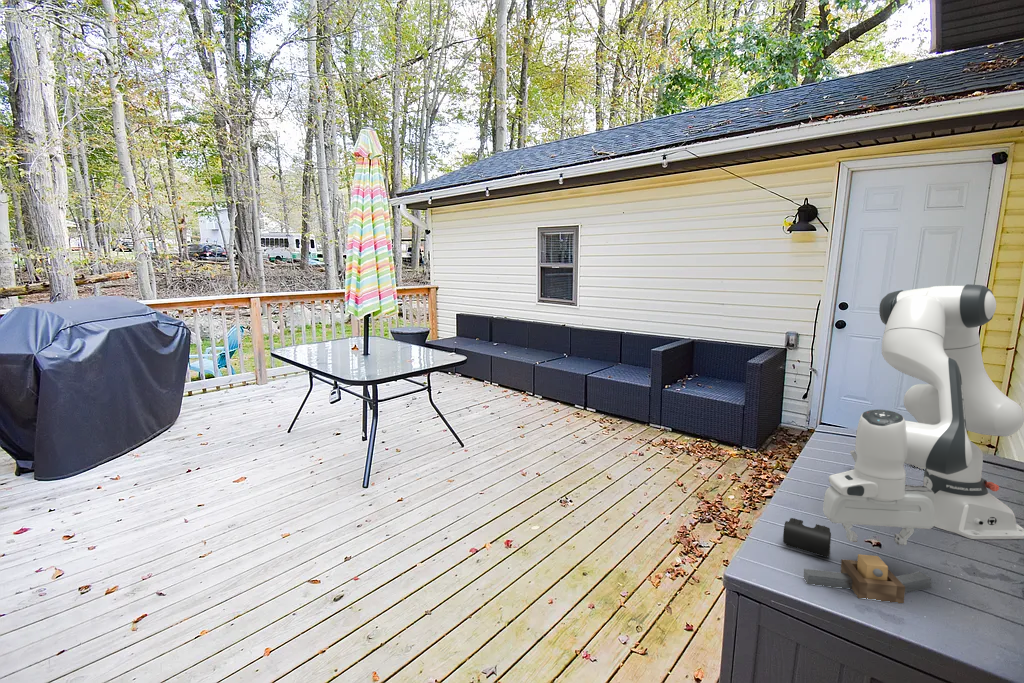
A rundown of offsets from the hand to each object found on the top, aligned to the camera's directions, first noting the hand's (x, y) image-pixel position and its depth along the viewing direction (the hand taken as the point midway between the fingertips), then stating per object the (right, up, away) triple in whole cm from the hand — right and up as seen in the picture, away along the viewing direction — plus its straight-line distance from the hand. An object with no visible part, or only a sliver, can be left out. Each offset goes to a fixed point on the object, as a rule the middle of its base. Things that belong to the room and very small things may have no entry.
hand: (875, 541), depth 100 cm
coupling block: (0, -11, +1) cm, 12 cm away
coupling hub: (0, -11, +1) cm, 11 cm away
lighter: (+45, -3, +61) cm, 76 cm away
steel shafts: (0, -11, +3) cm, 12 cm away
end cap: (-4, -10, +17) cm, 20 cm away
